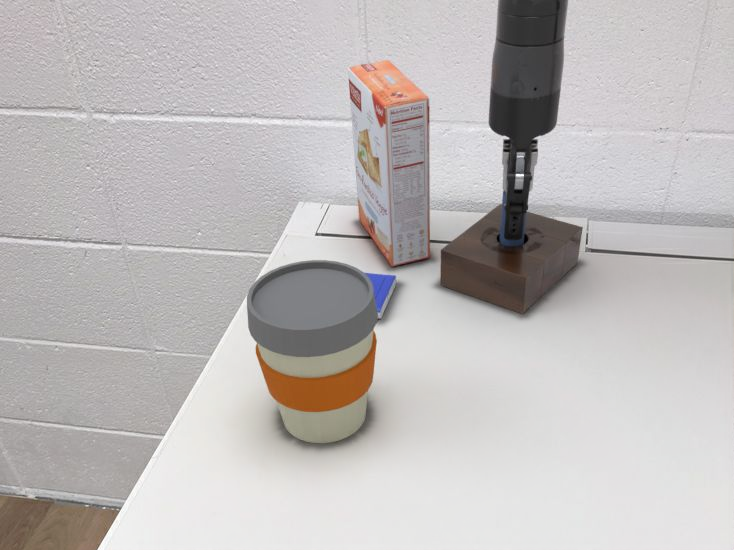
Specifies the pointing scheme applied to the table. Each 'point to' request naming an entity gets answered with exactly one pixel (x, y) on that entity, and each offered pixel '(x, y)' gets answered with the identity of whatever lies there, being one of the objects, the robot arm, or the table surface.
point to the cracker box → (391, 160)
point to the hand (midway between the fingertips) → (513, 230)
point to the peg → (502, 239)
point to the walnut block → (510, 260)
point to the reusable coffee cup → (316, 345)
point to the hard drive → (382, 290)
